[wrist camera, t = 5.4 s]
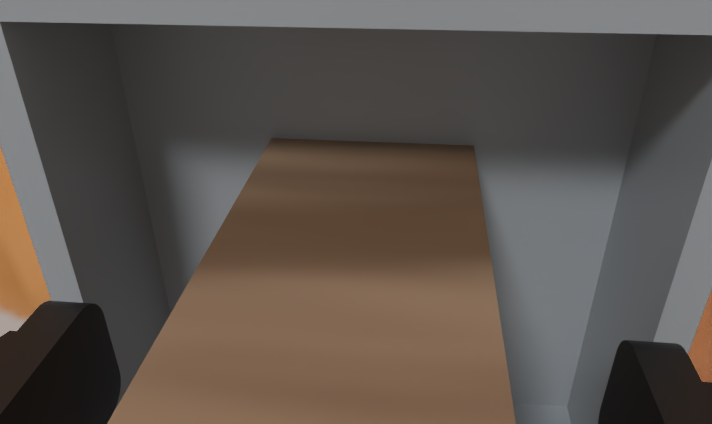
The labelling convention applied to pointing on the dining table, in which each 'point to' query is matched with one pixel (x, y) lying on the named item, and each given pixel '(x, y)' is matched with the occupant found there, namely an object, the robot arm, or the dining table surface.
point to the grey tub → (378, 124)
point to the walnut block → (337, 298)
